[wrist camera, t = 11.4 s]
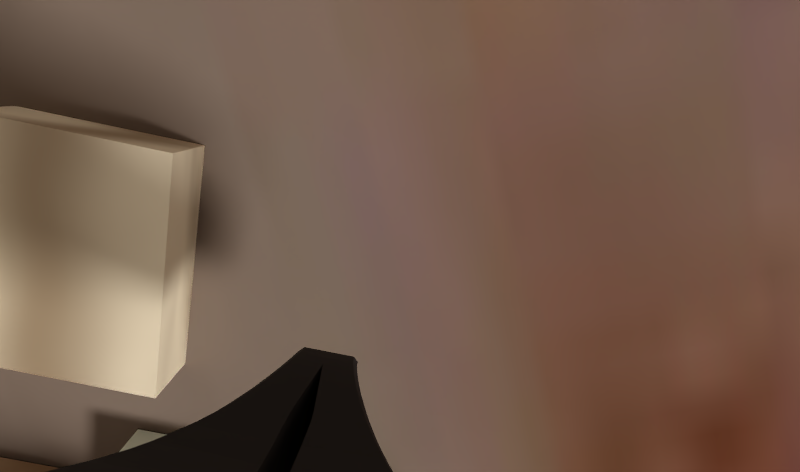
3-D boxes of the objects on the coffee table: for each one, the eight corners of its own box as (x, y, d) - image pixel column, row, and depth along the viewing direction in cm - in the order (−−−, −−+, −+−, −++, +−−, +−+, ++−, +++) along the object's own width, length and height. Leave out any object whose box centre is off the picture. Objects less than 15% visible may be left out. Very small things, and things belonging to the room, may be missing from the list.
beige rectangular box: (209, 144, 16) (172, 153, 14) (189, 357, 18) (155, 398, 16) (25, 105, 16) (-45, 108, 13) (28, 326, 18) (-31, 361, 16)
